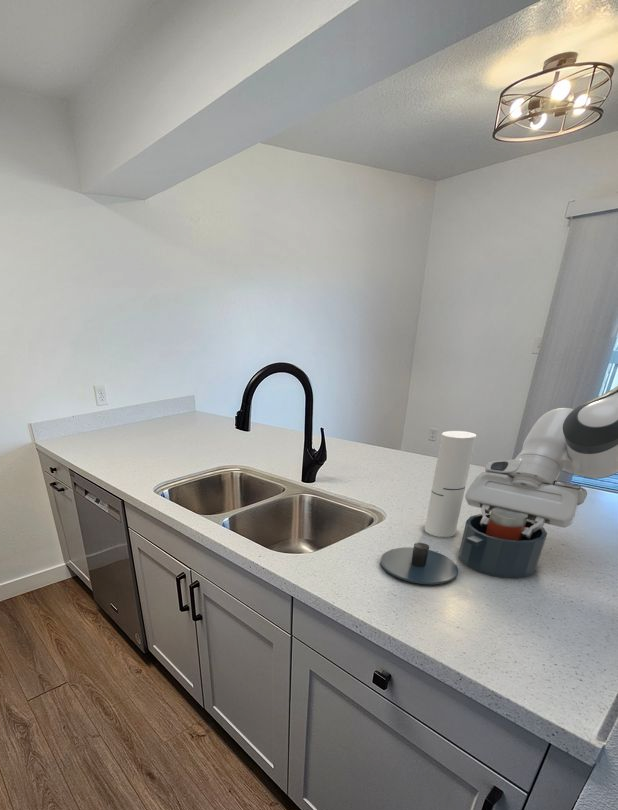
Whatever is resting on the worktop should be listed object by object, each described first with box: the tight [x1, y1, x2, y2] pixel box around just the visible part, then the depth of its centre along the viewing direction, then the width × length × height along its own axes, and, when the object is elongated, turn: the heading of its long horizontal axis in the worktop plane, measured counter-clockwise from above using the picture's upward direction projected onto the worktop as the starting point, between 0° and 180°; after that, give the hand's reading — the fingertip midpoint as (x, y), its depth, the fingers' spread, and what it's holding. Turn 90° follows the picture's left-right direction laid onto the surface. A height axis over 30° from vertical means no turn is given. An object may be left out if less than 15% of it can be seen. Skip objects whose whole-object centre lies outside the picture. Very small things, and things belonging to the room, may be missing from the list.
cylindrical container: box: [424, 430, 477, 538], centre depth 107 cm, size 7×7×25 cm
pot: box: [458, 512, 548, 579], centre depth 96 cm, size 15×20×8 cm
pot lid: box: [380, 542, 459, 585], centre depth 95 cm, size 16×16×6 cm
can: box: [485, 507, 528, 541], centre depth 94 cm, size 7×7×9 cm
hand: (503, 531), depth 94 cm, fingers closed on can, 7 cm apart
